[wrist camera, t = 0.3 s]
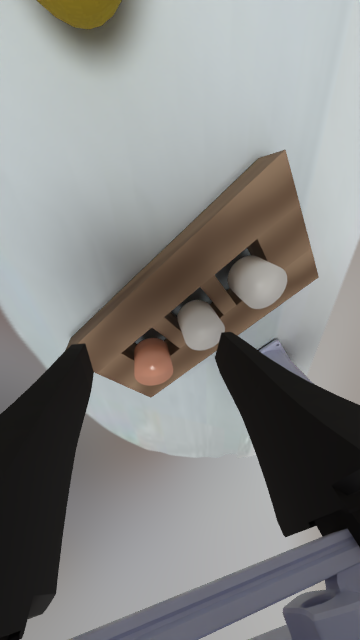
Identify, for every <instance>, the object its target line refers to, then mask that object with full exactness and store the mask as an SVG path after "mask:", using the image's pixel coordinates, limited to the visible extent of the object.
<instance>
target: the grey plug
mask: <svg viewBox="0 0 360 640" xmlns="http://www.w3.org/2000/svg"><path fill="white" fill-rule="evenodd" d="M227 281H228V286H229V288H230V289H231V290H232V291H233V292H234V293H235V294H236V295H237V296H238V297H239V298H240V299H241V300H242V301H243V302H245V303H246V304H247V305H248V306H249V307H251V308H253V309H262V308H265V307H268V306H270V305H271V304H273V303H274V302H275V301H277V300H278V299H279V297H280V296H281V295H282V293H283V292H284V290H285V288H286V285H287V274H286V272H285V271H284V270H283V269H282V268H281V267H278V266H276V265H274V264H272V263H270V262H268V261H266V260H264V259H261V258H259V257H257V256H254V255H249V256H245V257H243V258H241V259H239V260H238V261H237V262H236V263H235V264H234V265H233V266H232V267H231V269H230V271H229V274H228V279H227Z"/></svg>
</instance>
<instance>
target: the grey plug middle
mask: <svg viewBox="0 0 360 640" xmlns="http://www.w3.org/2000/svg"><path fill="white" fill-rule="evenodd" d="M177 319H178V323H179V326H180V329H181V332H182V334H183V337H184V340H185V342H186V344H187V346H188V347H190V348H191V349H193V350H207V349H209V348H212V347H213V346H215V345H216V344H218V343H219V340H220V336H221V333H222V332H225V327H224V324H223V323H222V321H221V320H220V318H219V317H218V316H217V314H216V313H215V311H214V310H213V309H212V307H211V306H210V305H209V304H208V303H207V302H205V301H203V300H193V301H190V302H188V303H186V304H185V305H184V306H183V307H182V308H181V309H180V311H179V313H178V317H177Z"/></svg>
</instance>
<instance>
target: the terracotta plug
mask: <svg viewBox="0 0 360 640" xmlns="http://www.w3.org/2000/svg"><path fill="white" fill-rule="evenodd" d="M172 374H173V366H172V361H171V357H170V353H169V349H168V345H167V343H166V342H165V341H163V340H161V339H159V338H147V339H144V340H142V341H141V342H139V343H138V344H137V345H136V347H135V350H134V376H135V379H136V380H137V381H138V382H139V383H141V384H143V385H148V386H153V385H158V384H161V383H164V382H165V381H167V380H168V379H169V378H170V377H171V376H172Z"/></svg>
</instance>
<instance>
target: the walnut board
mask: <svg viewBox="0 0 360 640" xmlns="http://www.w3.org/2000/svg"><path fill="white" fill-rule="evenodd" d="M246 248H248V250H249V252H250V254H251V255H254V256H257V257H259V258H261V259H264V260H266V261H268V262H270V263H272V264H274V265H276V266H278V267H281V268H282V269H283V270H284V271H285V272H286V274H287V285H286V288H285V290H284V292H283V293H282V295H281V296H280V297H279V299H278V300H277V301H275V302H274V303H273V304H271V305H270V306H268V307H265V308H262V309H253V308H251V307H249V306H248V305H247V304H246V303H245V302H243V301H242V300H241V299H240V298H239V297H238V296H237V295H236V294H235V293H234V292H233V291H232V290H231V289H230V288H229V289H228V290H227V291H226V290H225V289H224V287H223V286H222V285H221V283H220V282H219V280H218V279H217V278H216V276H215V274H216V273H217V272H218V271H220V270H221V269H222V268H223V267H224V266H226V265H227V264H228V263H229V262H230V261H232V260H233V259H234V258H235V257H236V256H238V255H239V254H240V253H241V252H242V251H244V250H245V249H246ZM317 278H318V273H317V269H316V265H315V261H314V257H313V254H312V250H311V246H310V242H309V238H308V234H307V231H306V227H305V223H304V219H303V215H302V211H301V208H300V204H299V200H298V196H297V192H296V188H295V185H294V181H293V177H292V173H291V169H290V165H289V162H288V158H287V154H286V150H283V151H280V152H276V153H273V154H270V155H267V156H264V157H261V158H258V159H257V160H256V161H255V162H254V163H253V164H252V165H251V166H250V167H249V168H248V169H247V170H246V171H245V172H244V173H243V174H242V175H241V176H240V177H239V178H238V179H237V180H235V181H234V182H233V183H232V184H231V185H230V186H229V187H228V188H227V189H226V190H225V191H224V192H223V193H222V194H221V195H220V196H219V197H218V198H217V199H216V200H215V201H214V202H213V203H211V204H210V205H209V206H208V207H207V208H206V209H205V210H204V211H203V212H202V213H201V214H200V215H199V216H198V217H197V218H196V219H195V220H194V221H193V222H192V223H191V224H190V225H188V226H187V227H186V228H185V229H184V230H183V231H182V232H181V233H180V234H179V235H178V236H177V237H176V238H175V239H174V240H173V241H172V242H171V243H170V244H169V245H168V246H167V247H165V248H164V249H163V250H162V251H161V252H160V253H159V254H158V255H157V256H156V257H155V258H154V259H153V260H152V261H151V262H150V263H149V264H148V265H147V266H146V267H145V268H144V269H142V270H141V271H140V272H139V273H138V274H137V275H136V276H135V277H134V278H133V279H132V280H131V281H130V282H129V283H128V284H127V285H126V286H125V287H124V288H123V289H122V290H121V291H119V292H118V293H117V294H116V295H115V296H114V297H113V298H112V299H111V300H110V301H109V302H108V303H107V304H106V305H105V306H104V307H103V308H102V309H101V310H100V311H99V312H98V313H96V314H95V315H94V316H93V317H92V318H91V319H90V320H89V321H88V322H87V323H86V324H85V325H84V326H83V327H82V328H81V329H80V330H79V331H78V332H77V333H76V334H75V335H73V336H72V337H71V339H70V341H69V343H68V346H67V348H66V350H67V349H68V348H69V347H70V346H71V345H72V344H83V343H85V344H86V347H87V351H88V354H89V357H90V361H91V364H92V368H93V371H94V372H95V373H97V374H99V375H101V376H104V377H106V378H108V379H110V380H113V381H115V382H117V383H119V384H122V385H124V386H126V387H128V388H131V389H133V390H135V391H137V392H140V393H142V394H144V395H146V396H149V397H152V396H154V395H155V394H157V393H158V392H159V391H161V390H162V389H164V388H165V387H166V386H168V385H169V384H171V383H172V382H173V381H175V380H176V379H178V378H179V377H180V376H182V375H183V374H184V373H186V372H187V371H189V370H190V369H191V368H193V367H194V366H196V365H197V364H198V363H200V362H201V361H203V360H204V359H205V358H207V357H208V356H210V355H211V354H212V353H214V352H215V351H217V348H218V344H219V343H218V344H216V345H215V346H213V347H212V348H209V349H207V350H193V349H191V348H190V347H188V346H187V344H186V342H185V340H184V337H183V334H182V332H181V329H180V326H179V323H178V319H177V317H176V316H175V315H174V314H173V313H171V311H172V310H173V309H174V308H176V307H177V306H178V305H179V304H180V303H182V302H183V301H184V300H185V299H186V298H188V297H189V296H190V295H191V294H192V293H193V292H195V291H196V290H197V289H198V288H199V287H201V288H202V290H203V291H204V292H205V293H206V294H207V296H208V297H209V298H210V299H211V300H212V303H210V304H209V305H210V306H211V307H212V309H213V310H214V311H215V313H216V314H217V316H218V317H219V318H220V320H221V321H222V323H223V324H224V327H225V332H232V333H234V334H235V335H239V334H240V333H242V332H243V331H244V330H246V329H247V328H249V327H250V326H251V325H253V324H254V323H256V322H257V321H258V320H260V319H261V318H263V317H264V316H265V315H267V314H268V313H269V312H271V311H272V310H274V309H275V308H276V307H278V306H279V305H281V304H282V303H283V302H285V301H286V300H288V299H289V298H290V297H292V296H293V295H295V294H296V293H297V292H299V291H300V290H302V289H303V288H304V287H306V286H307V285H309V284H310V283H311V282H313V281H314V280H315V279H317ZM151 328H153V329H155V330H156V331H157V332H159V333H160V334H161V335H163V336H164V337H165V338H167V339H165V340H164V341H165V342H166V343H167V345H168V349H169V353H170V357H171V361H172V366H173V374H172V376H171V377H170V378H169V379H168V380H167V381H165V382H164V383H161V384H158V385H153V386H148V385H143V384H141V383H139V382H138V381H137V380H136V379H135V376H134V350H135V347H136V345H137V344H136V343H134V342H135V341H136V340H137V339H139V338H140V337H141V336H142V335H143V334H145V333H146V332H147V331H148V330H149V329H151ZM66 350H65V351H66Z"/></svg>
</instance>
